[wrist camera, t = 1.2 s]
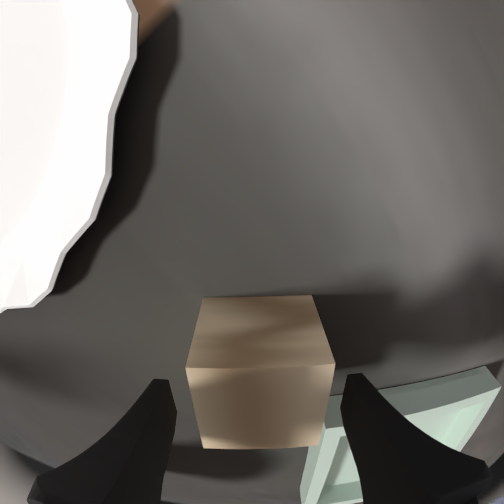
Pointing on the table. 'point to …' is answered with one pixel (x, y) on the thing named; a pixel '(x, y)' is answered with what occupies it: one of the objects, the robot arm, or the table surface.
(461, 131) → the table surface
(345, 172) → the table surface
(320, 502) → the green tray
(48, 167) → the plate
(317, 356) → the maple cube
